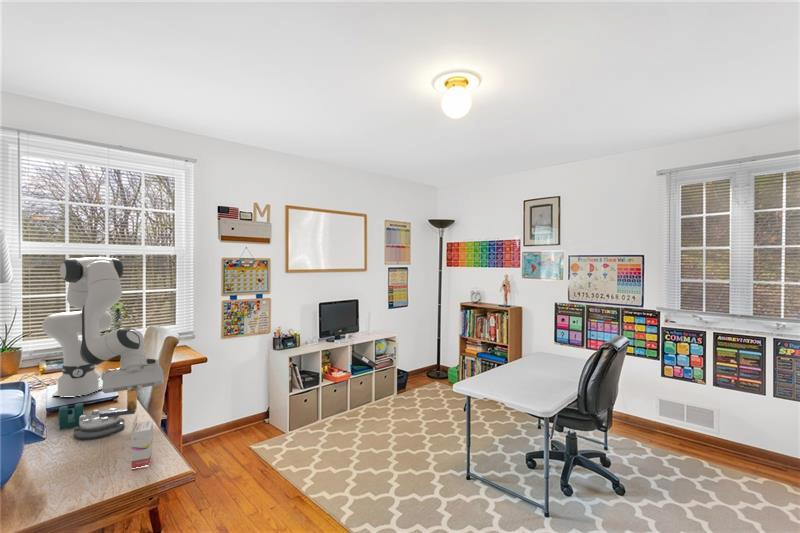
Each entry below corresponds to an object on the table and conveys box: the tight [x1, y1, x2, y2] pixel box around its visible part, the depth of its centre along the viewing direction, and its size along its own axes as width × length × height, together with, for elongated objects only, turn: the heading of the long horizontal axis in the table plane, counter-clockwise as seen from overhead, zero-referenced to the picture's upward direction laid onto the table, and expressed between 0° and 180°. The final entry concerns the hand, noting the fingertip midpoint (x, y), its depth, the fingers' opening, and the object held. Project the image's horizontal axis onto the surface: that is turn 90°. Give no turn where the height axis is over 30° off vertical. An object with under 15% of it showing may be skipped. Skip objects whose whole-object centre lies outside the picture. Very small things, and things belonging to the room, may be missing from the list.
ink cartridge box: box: [130, 413, 154, 468], centre depth 122 cm, size 9×5×15 cm, turn 27°
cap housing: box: [73, 417, 126, 441], centre depth 144 cm, size 15×15×2 cm
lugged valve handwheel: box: [79, 388, 138, 432], centre depth 145 cm, size 18×12×12 cm
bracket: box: [58, 402, 84, 431], centre depth 152 cm, size 18×7×8 cm, turn 43°
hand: (134, 397), depth 150 cm, fingers closed
